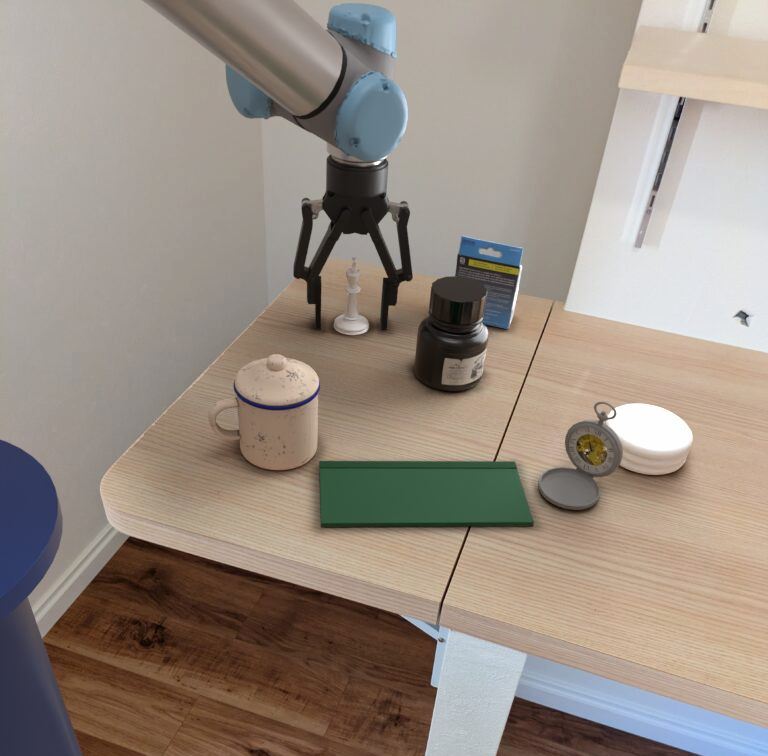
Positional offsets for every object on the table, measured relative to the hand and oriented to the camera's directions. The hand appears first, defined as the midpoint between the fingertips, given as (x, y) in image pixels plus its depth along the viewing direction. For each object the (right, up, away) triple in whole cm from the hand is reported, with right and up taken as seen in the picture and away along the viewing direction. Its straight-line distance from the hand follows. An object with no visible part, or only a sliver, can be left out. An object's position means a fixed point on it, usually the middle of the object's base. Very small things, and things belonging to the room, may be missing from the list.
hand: (350, 324), depth 111 cm
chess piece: (0, 0, 0) cm, 0 cm away
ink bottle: (+13, -8, -7) cm, 17 cm away
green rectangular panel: (+9, -24, -26) cm, 37 cm away
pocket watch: (+26, -24, -23) cm, 42 cm away
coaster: (+35, -19, -17) cm, 43 cm away
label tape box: (+19, +2, +4) cm, 19 cm away
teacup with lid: (-9, -19, -22) cm, 30 cm away
